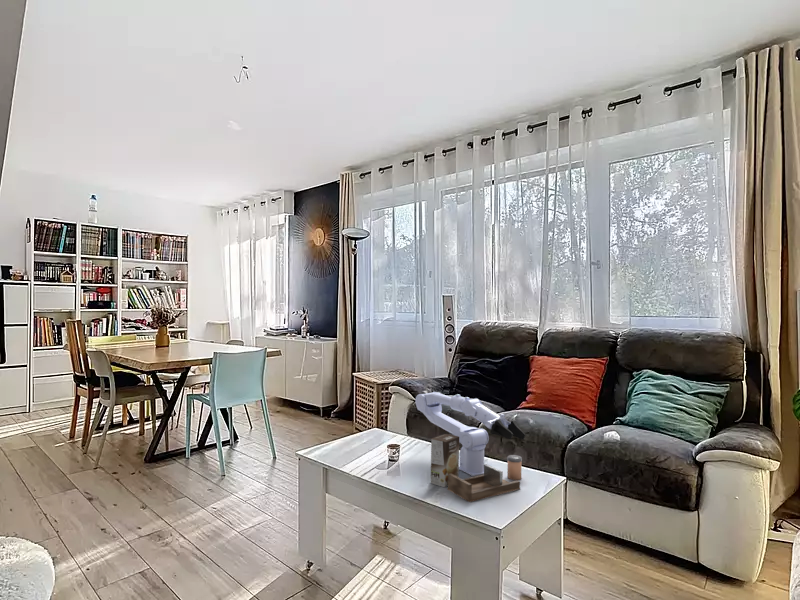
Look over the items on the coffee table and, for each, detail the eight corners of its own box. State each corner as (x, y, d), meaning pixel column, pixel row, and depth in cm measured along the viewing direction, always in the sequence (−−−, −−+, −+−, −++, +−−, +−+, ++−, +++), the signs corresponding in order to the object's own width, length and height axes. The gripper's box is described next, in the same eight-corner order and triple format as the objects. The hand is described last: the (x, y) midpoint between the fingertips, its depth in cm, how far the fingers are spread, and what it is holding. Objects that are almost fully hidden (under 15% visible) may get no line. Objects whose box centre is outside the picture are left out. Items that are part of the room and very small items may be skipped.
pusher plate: (483, 481, 175) (483, 464, 175) (486, 480, 175) (486, 464, 175) (499, 489, 168) (499, 472, 168) (502, 488, 168) (502, 471, 168)
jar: (504, 476, 182) (504, 456, 182) (514, 474, 184) (514, 454, 184) (514, 481, 177) (514, 460, 177) (524, 478, 180) (524, 458, 180)
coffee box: (444, 488, 170) (445, 442, 170) (430, 483, 174) (430, 438, 174) (459, 480, 177) (459, 436, 177) (444, 476, 181) (445, 432, 181)
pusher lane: (447, 489, 169) (447, 473, 169) (496, 477, 180) (497, 462, 180) (469, 502, 159) (469, 485, 159) (520, 489, 170) (520, 473, 170)
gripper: (481, 407, 176) (510, 425, 165) (504, 409, 185) (533, 427, 175) (474, 425, 176) (502, 444, 166) (498, 426, 186) (526, 445, 176)
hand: (518, 437), depth 171 cm, fingers open, 7 cm apart
